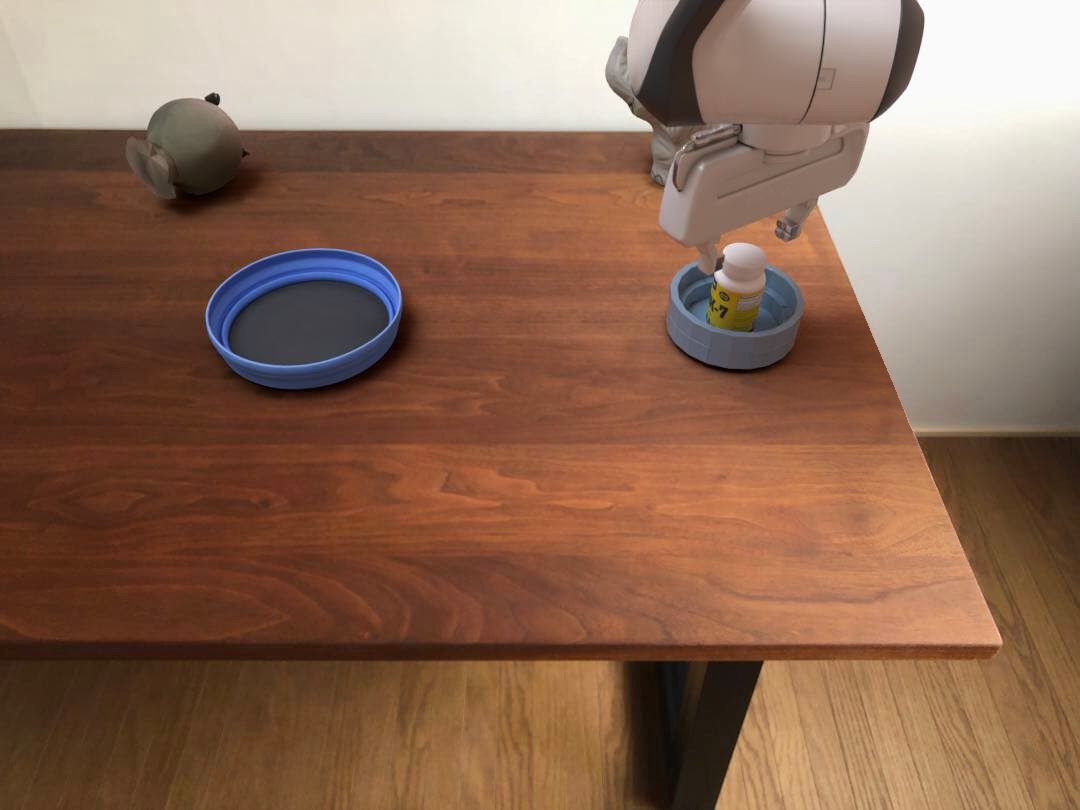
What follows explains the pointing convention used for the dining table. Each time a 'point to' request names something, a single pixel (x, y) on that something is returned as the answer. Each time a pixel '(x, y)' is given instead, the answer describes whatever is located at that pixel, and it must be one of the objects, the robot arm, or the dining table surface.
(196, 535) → the dining table surface
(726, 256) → the supplement bottle
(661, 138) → the grey elephant figurine
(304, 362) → the bowl
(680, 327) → the blue bowl
